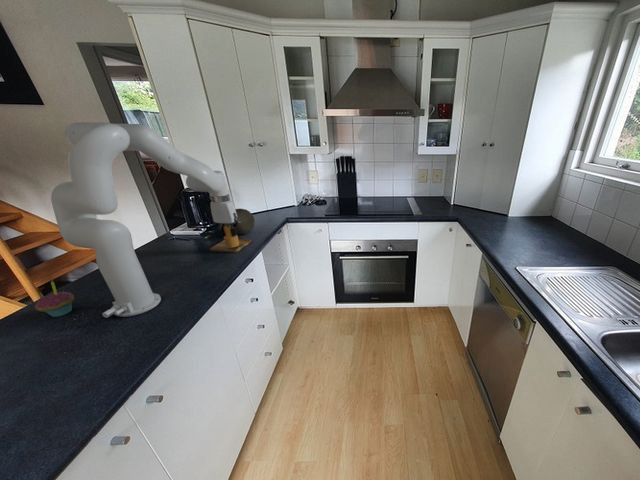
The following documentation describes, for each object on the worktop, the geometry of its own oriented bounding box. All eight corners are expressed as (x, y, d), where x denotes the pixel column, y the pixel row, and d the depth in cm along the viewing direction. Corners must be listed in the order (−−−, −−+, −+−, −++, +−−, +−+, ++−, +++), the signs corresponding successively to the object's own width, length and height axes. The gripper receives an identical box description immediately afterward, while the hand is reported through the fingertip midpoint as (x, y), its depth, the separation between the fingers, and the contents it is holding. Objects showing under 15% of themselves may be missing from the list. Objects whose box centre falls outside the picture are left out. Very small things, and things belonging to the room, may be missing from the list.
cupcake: (78, 302, 97) (60, 273, 92) (81, 311, 92) (63, 281, 87) (41, 313, 91) (21, 283, 86) (43, 324, 86) (21, 293, 81)
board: (235, 252, 135) (235, 250, 134) (209, 250, 136) (209, 248, 136) (251, 241, 147) (251, 239, 147) (227, 240, 149) (227, 237, 148)
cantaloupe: (227, 234, 157) (220, 208, 150) (252, 228, 165) (247, 204, 159) (234, 241, 147) (227, 214, 141) (261, 235, 156) (255, 209, 149)
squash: (234, 248, 134) (229, 227, 129) (223, 247, 134) (217, 226, 130) (241, 243, 139) (237, 222, 134) (231, 242, 140) (225, 222, 135)
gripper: (198, 200, 124) (209, 237, 132) (232, 201, 122) (241, 239, 130) (209, 196, 130) (219, 231, 139) (242, 197, 129) (250, 233, 137)
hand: (230, 234), depth 134 cm, fingers closed on squash, 4 cm apart
